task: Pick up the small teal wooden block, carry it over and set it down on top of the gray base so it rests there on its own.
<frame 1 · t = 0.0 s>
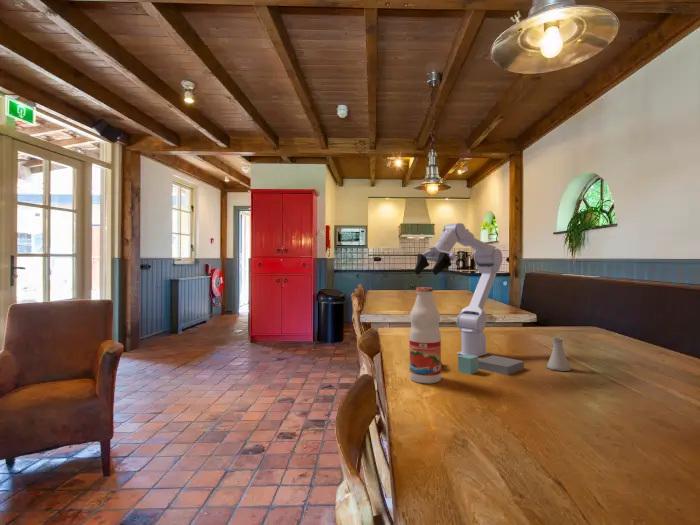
hand: (424, 272, 127), 32 cm above the table, tool tilted 50°, fingers open, 7 cm apart
flask: (558, 369, 124), on the table
gray base: (499, 369, 125), on the table
brown broken pot: (428, 367, 127), on the table
teal block: (468, 371, 121), on the table
fruit juice: (425, 379, 114), on the table
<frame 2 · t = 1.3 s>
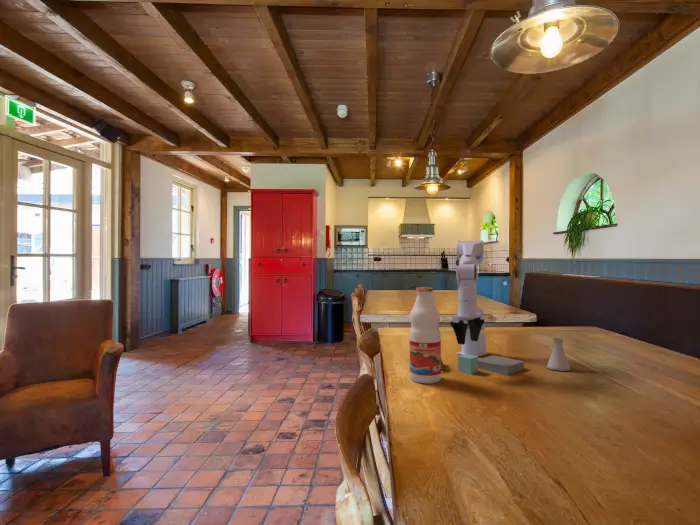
hand: (467, 342, 122), 9 cm above the table, tool pointing down, fingers open, 7 cm apart
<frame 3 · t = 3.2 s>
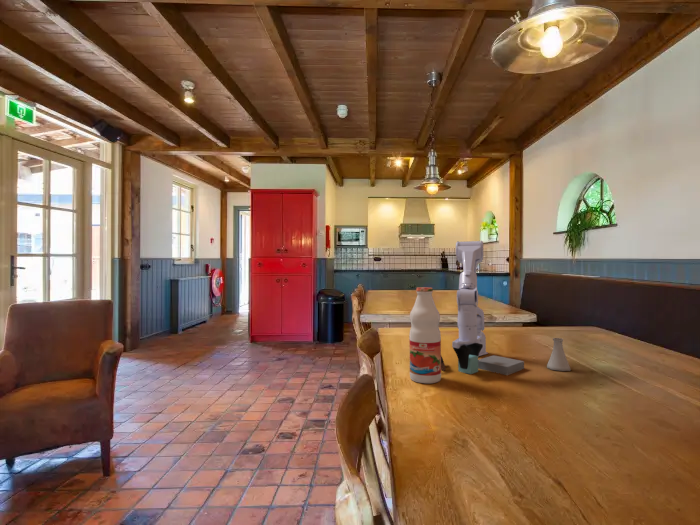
hand: (468, 367, 121), 1 cm above the table, tool pointing down, fingers closed on teal block, 4 cm apart
teal block: (468, 371, 121), on the table, touching gripper
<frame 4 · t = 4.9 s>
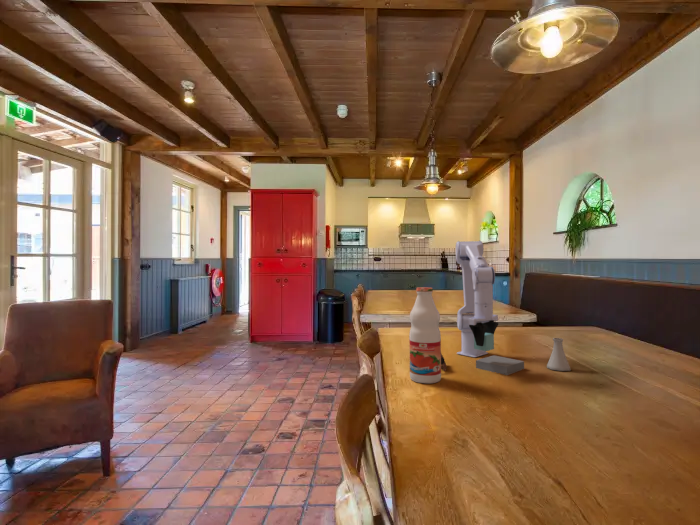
hand: (483, 344, 123), 8 cm above the table, tool pointing down, fingers closed on teal block, 4 cm apart
teal block: (484, 348, 123), point 7 cm above the table, touching gripper
when the fingers open (5 cm above the table, at t = 6.7 s): teal block drops 1 cm, point 2 cm above the table.
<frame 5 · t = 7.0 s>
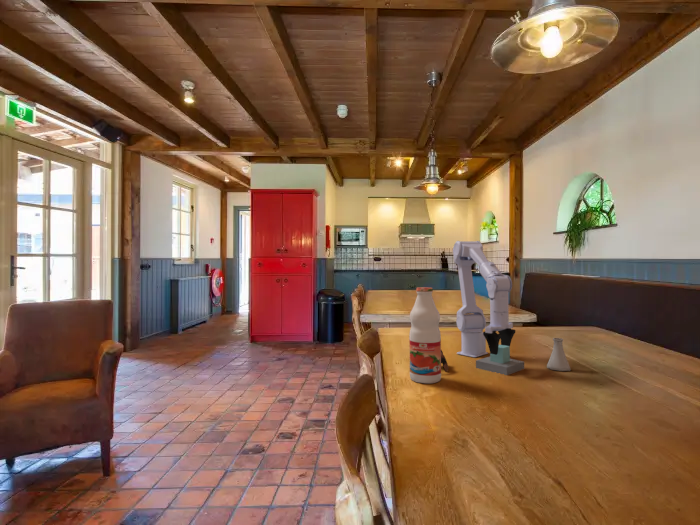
hand: (499, 352, 125), 5 cm above the table, tool pointing down, fingers open, 7 cm apart
teal block: (500, 361, 125), point 2 cm above the table
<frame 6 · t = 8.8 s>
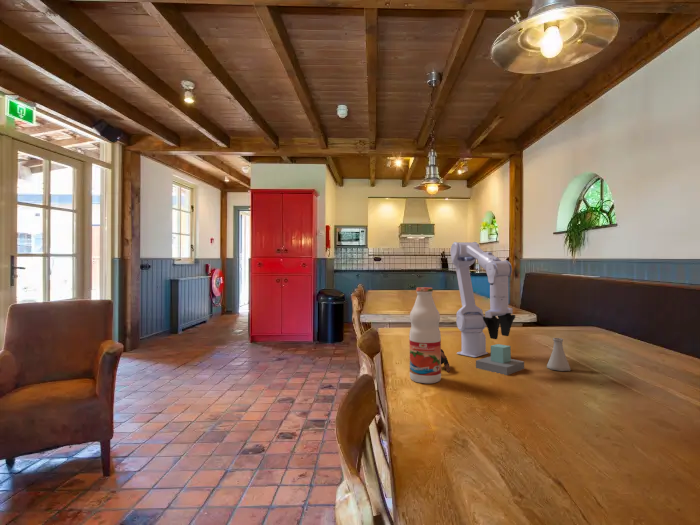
hand: (499, 337, 125), 10 cm above the table, tool pointing down, fingers open, 7 cm apart
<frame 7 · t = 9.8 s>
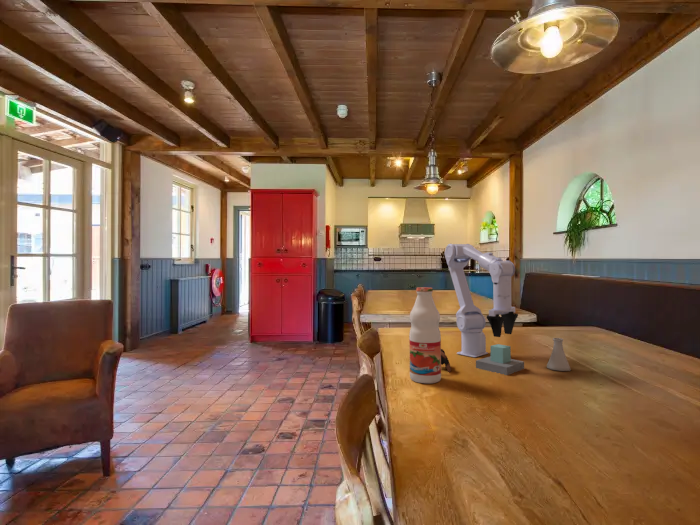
hand: (502, 335, 128), 10 cm above the table, tool pointing down, fingers open, 7 cm apart
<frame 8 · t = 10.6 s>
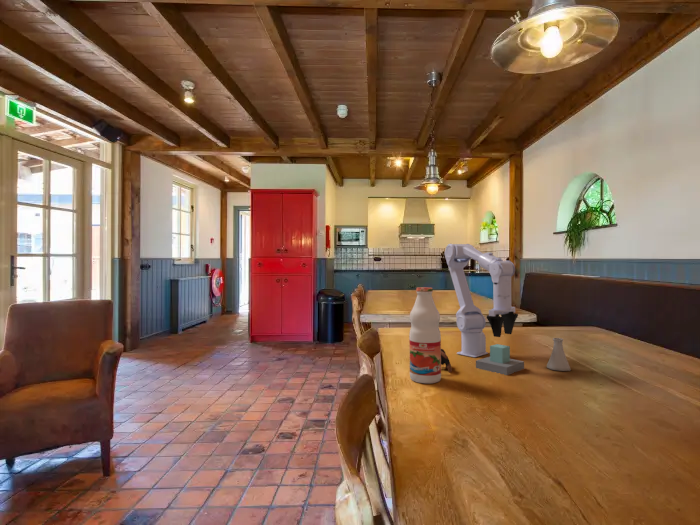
hand: (502, 335, 128), 10 cm above the table, tool pointing down, fingers open, 7 cm apart
gray base: (499, 370, 125), on the table, touching teal block
teal block: (499, 361, 125), point 2 cm above the table, touching gray base
at the end: teal block inside the target area on the gray base (0.1 cm from its centre), point 3.0 cm above the gray base's base; teal block tilted 0°; teal block touching gray base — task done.
